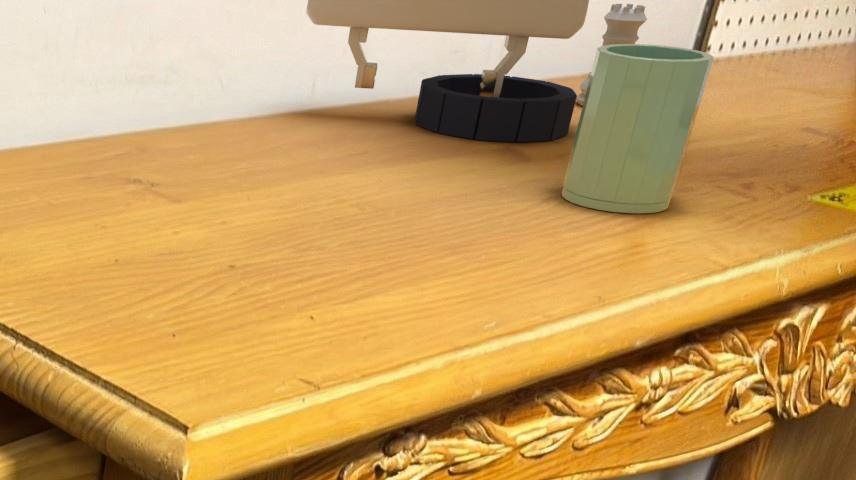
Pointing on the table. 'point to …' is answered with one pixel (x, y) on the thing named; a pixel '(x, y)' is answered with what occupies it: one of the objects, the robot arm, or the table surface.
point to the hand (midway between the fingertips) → (425, 91)
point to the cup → (635, 127)
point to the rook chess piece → (618, 32)
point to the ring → (495, 109)
